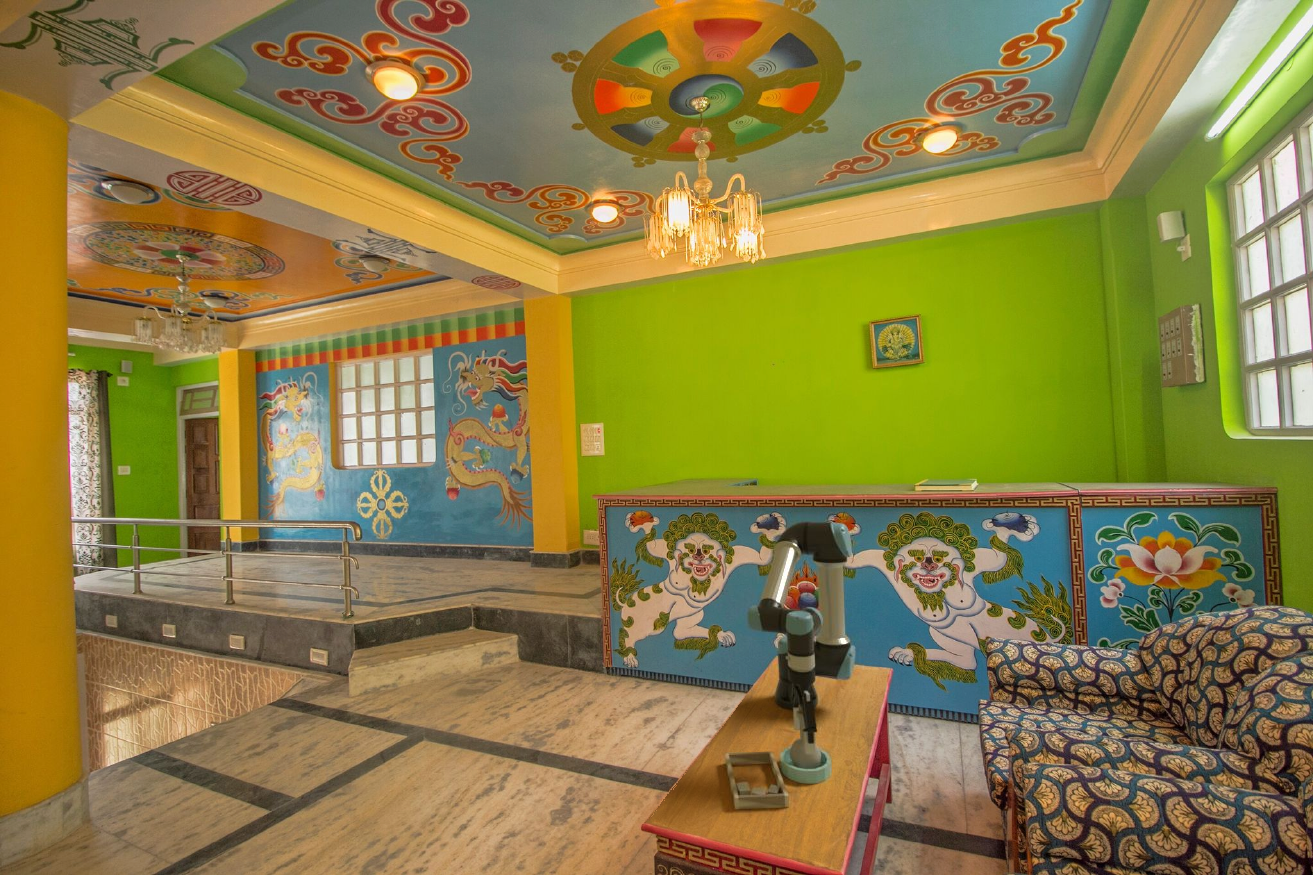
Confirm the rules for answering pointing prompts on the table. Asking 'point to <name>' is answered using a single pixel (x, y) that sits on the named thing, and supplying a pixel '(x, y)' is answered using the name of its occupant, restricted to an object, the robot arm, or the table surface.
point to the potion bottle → (803, 749)
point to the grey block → (743, 788)
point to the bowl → (805, 774)
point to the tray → (762, 799)
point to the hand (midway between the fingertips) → (804, 741)
